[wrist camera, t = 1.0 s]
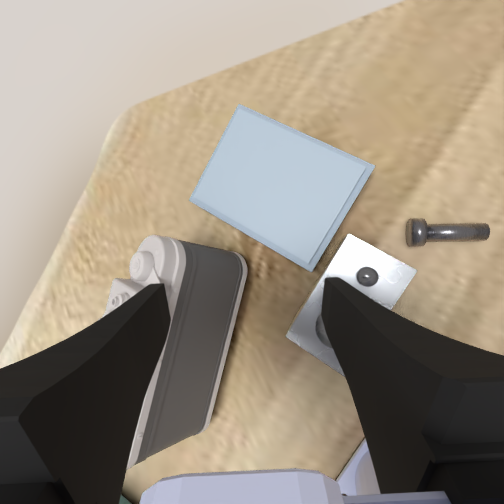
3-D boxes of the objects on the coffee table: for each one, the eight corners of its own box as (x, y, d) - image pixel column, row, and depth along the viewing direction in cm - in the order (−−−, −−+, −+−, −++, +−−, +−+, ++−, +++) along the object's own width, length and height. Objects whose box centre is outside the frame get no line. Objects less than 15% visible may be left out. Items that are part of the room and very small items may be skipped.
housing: (395, 266, 21) (423, 271, 15) (340, 350, 22) (347, 385, 16) (343, 238, 22) (350, 232, 16) (293, 319, 23) (282, 341, 17)
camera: (261, 259, 22) (147, 234, 14) (214, 444, 22) (74, 524, 14) (193, 240, 28) (84, 215, 20) (156, 387, 28) (33, 421, 20)
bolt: (479, 218, 19) (496, 214, 17) (479, 246, 19) (497, 245, 17) (405, 220, 21) (414, 216, 19) (405, 246, 20) (414, 245, 19)
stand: (370, 174, 21) (376, 163, 19) (312, 270, 22) (311, 272, 20) (245, 115, 24) (236, 100, 22) (199, 204, 25) (185, 199, 23)
